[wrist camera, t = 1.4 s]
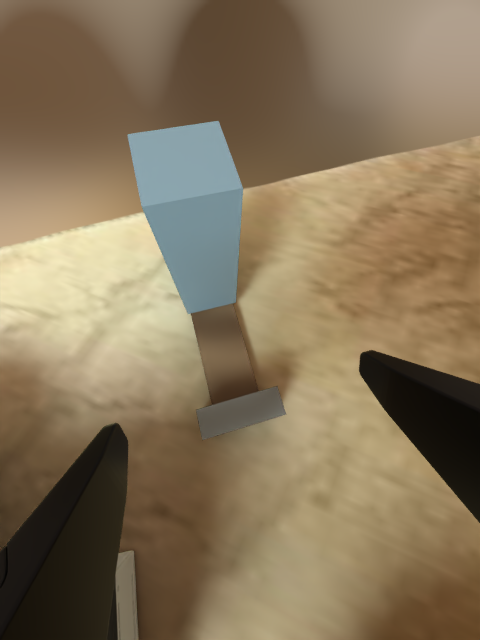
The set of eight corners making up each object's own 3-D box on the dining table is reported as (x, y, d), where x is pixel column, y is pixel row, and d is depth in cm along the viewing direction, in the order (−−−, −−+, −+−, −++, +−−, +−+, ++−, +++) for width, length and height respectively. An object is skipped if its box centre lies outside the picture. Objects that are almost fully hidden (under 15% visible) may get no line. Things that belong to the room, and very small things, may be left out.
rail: (276, 413, 22) (286, 414, 18) (207, 434, 21) (202, 440, 17) (224, 244, 27) (223, 217, 23) (167, 256, 26) (157, 230, 23)
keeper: (235, 302, 24) (242, 188, 11) (188, 314, 23) (141, 206, 11) (223, 261, 25) (218, 120, 13) (178, 271, 25) (127, 134, 12)
